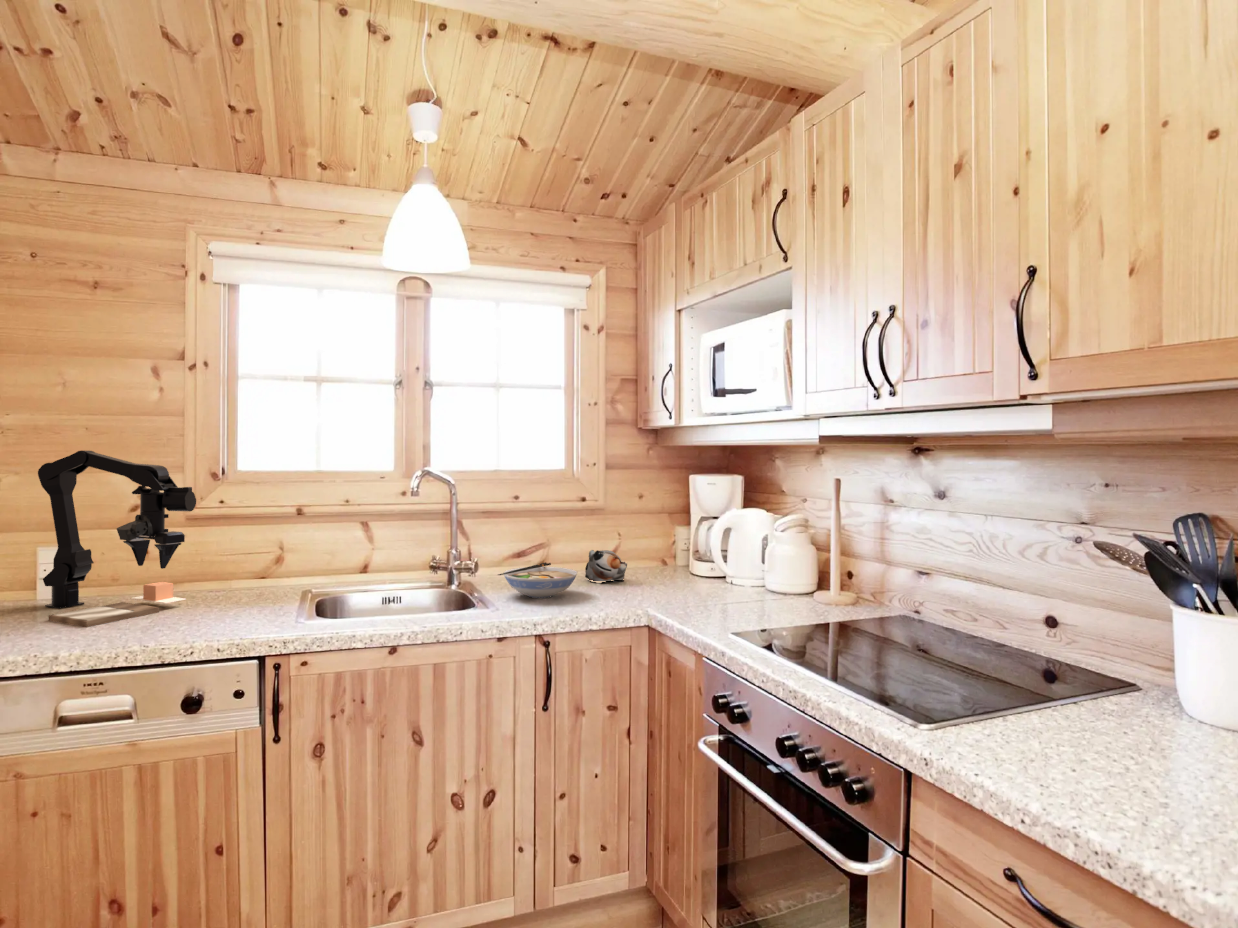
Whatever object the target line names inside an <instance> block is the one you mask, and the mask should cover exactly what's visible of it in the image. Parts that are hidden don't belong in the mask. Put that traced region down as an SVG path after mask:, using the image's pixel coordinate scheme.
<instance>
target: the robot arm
mask: <svg viewBox="0 0 1238 928" xmlns="http://www.w3.org/2000/svg"><path fill="white" fill-rule="evenodd" d="M89 467H90V468H92V469H96V470H101V471H104V472H108V473H111V474H116V475H120V476H122V477H126V478H128V479H129V480H131V481H132V482H133V483H135V484H138V486H137V487H136V489H134V490H133V491H132V492H131V494H132V495H139V496H140V499H139V500H140V502H139V505H140V507H139V509H140V510H139V514H136V515H135V517H134V520H133V521H130V522H127V523H126V524H123V525H121V526H119V527H117V528H116V532H117V534H118V537H119V540H121V541H122V542H123V543H124V544H126V545H128V547H130V548H131V550H132V552H133V555H134V559H135V561H136V562H137V563H136V564H137V566H138V567H142V566H143V565H144V563H145V561H146V558H147V553H148V550H149V547H150V542H151V540H154V542H155V544H154V546H155V548H156V549H157V550H158V556H159V558H158V559H159V565H160V569H161V570H162V569H163V570H164V569H166V568H167V566H168V564H169V563H170V561H171V558H172V557H173V555H174V553H175V552H176V550H177V549H178V548H179V546H181V545H182V543H185V542H186V540H185V538H186V535H185V533H183V532H182V531H174V530H173V531H169V528H165V526H166V525H165V522H166V519H168V518H169V514H168V513H166V510H167V511H168V512H192V511H193V510H195V507H196V506H197V497H196V495H195V493H194V492H193V487H192V486H184V487H178V486H177V484H176V482H175V481H174V480H173V478H172V477H171V475H170V473H169V470H168V468H167V467H165V466H163V465H159V464H158V465H157V464H148V463H147V464H146V463H136V462H131V461H128V460H123V459H120V458H116V457H112V456H110V455H109V456H108V455H106V454H101V453H98V452H95V451H94V450H78V451H76V452H74V453H72V454H70V455H67V456H65V457H62V458H60V459H57V460H54V461H52V462H46V463H43V464H42V465H41V466H40V467H39V468H38V470H37V476H38V480H39V482H40V485H41V487H42V489H43V490H44V491H45V492H46V494H47V495H48V496H49V499H50V507H51V512H52V517H53V525H54V531H55V536H56V537H55V538H56V544H57V550H56V552H55V554H54V558H53V562H52V563H53V569H52V570H51V571H50V572H48V574H46V575H45V576H44V577H43V579H42V580H43V583H44V586H45V587H51V603H49V604H45V606H44V607H46V608H52V609H58V610H59V609H64V608H65V609H67V608H70V607H76V606H77V607H78V606H82V605H85V602H82V601H80V600H79V599H80V596H79V595H80V592H79V591H80V589H79V585H80V584H79V582H85V579H86V577H87V574H89V573H90V571H91V570H92V564H94V561H93V558H92V549H90V548H89V549H88V548H87V549H85V548H84V547H83V546H82V544H81V540H80V536H79V535H80V533H79V528H78V522H77V516H76V515H77V514H76V510H75V509H76V508H75V503H74V502H75V501H74V498H73V492H74V489H75V488H76V486H77V482H78V481H77V477H78V475H81V474H82V473H84V472H85V471H86V470H87V469H88V468H89Z"/></svg>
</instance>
